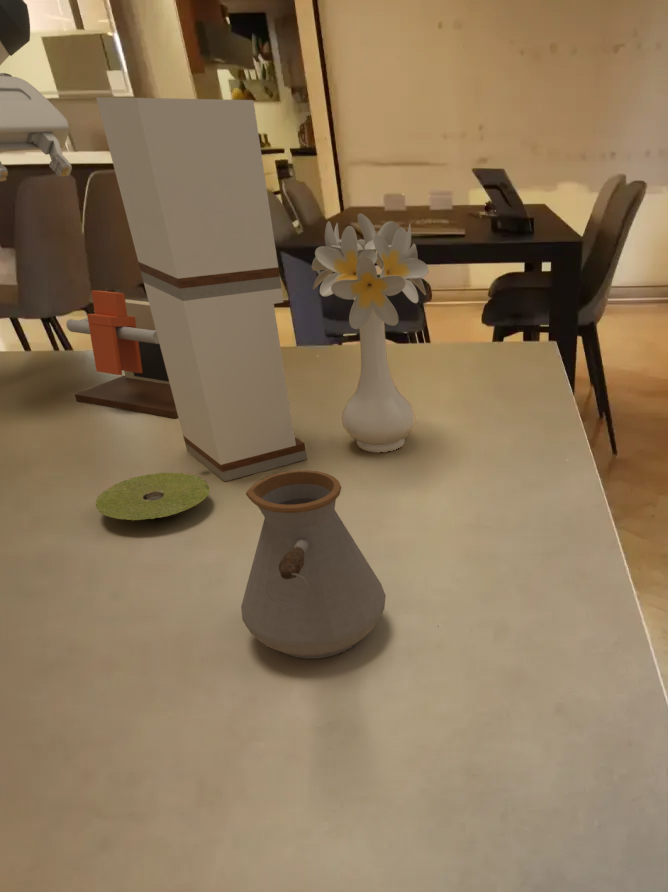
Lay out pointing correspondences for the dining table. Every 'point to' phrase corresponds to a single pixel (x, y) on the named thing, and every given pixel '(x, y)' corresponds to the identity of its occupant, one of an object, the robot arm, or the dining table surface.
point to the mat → (152, 496)
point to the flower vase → (372, 322)
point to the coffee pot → (307, 570)
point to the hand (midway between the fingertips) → (35, 174)
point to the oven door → (134, 388)
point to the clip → (112, 335)
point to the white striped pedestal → (208, 272)
